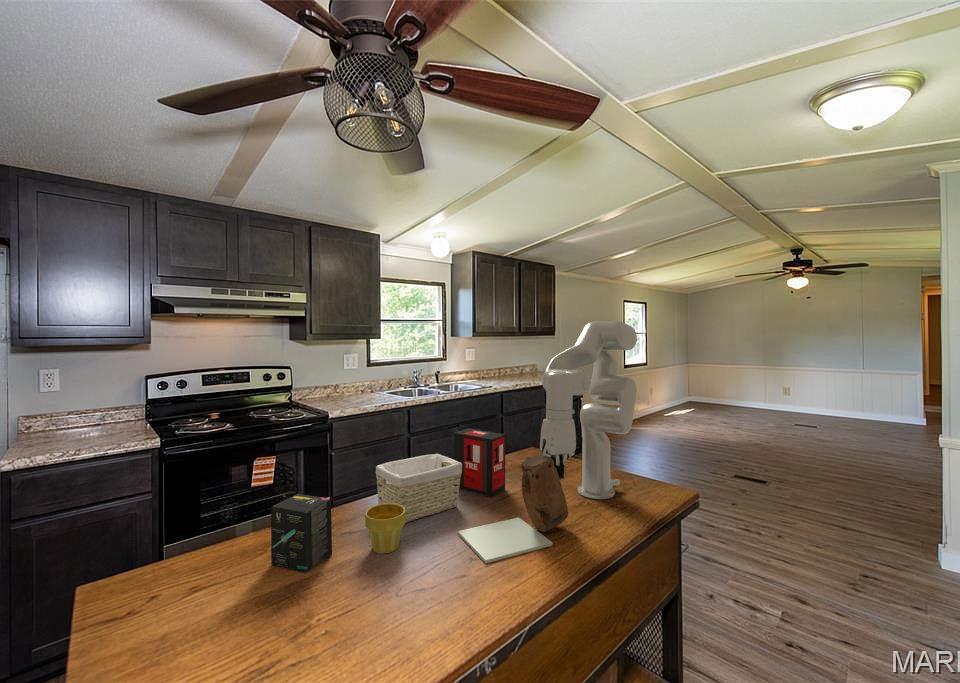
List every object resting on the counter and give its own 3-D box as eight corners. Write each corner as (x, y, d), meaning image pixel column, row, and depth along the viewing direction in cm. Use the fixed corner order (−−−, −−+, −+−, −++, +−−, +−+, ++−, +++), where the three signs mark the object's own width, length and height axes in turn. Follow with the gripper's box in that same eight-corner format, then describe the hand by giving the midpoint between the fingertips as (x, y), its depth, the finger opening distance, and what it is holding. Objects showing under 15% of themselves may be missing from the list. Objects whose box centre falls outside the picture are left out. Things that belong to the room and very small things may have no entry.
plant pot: (380, 562, 105) (380, 523, 105) (357, 548, 112) (357, 511, 112) (413, 547, 113) (413, 510, 113) (390, 534, 120) (390, 499, 120)
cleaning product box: (505, 489, 154) (505, 434, 154) (491, 497, 147) (491, 439, 146) (468, 480, 163) (468, 428, 163) (453, 487, 156) (453, 432, 156)
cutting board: (518, 520, 129) (518, 517, 129) (552, 545, 114) (552, 542, 114) (457, 533, 120) (457, 531, 120) (485, 563, 105) (485, 560, 105)
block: (555, 508, 130) (539, 448, 126) (573, 517, 124) (556, 454, 120) (529, 527, 125) (510, 466, 121) (545, 537, 118) (526, 473, 115)
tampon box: (333, 554, 109) (332, 497, 108) (307, 574, 100) (306, 512, 100) (298, 547, 112) (297, 492, 112) (270, 565, 104) (269, 505, 103)
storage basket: (436, 493, 151) (436, 451, 151) (464, 507, 138) (464, 462, 138) (373, 511, 136) (373, 464, 135) (398, 529, 123) (398, 478, 123)
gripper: (571, 410, 131) (570, 470, 131) (530, 414, 124) (529, 477, 125) (587, 414, 124) (587, 477, 125) (545, 419, 118) (544, 485, 118)
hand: (558, 477), depth 125 cm, fingers closed
